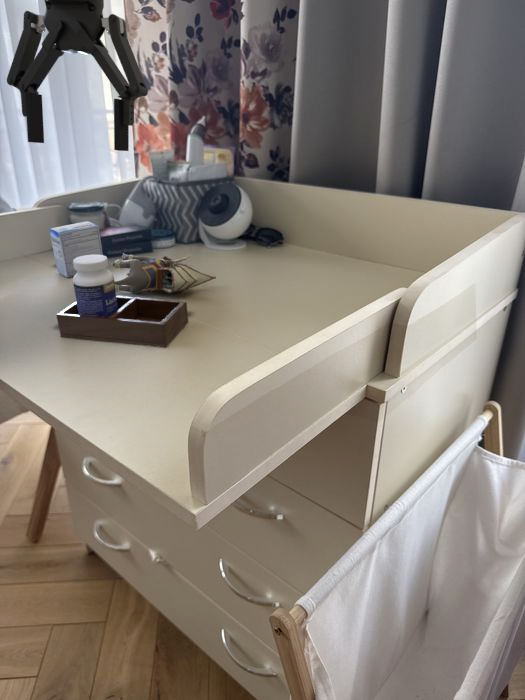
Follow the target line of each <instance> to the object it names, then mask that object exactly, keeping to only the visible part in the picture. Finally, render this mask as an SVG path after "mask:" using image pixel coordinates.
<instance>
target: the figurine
mask: <svg viewBox="0 0 525 700" xmlns="http://www.w3.org/2000/svg"><path fill="white" fill-rule="evenodd" d="M191 256H192V254H188V255H187V256H184V257H181V258H179V259H175V260H173V259H172V258H170V257H168V256H167V255H163V257H161V258H159V259H156V258H155V257H152V256H145V255H143V256H142V255H133V254H132V253H131V254H125V252H122V255H121V258H120V259H116V260H115V261H114V262H112V263H111V266H113V267H114V268H115V269H129V271H128V272H127V273H126V274H125V276H126V277H124V278H122V279H119V280H114V283H115V290H116V293H119V292H126V293H132V294H138V293H141V292H143V291H144V292H146V291H148V290H150V291H151V292H154V291H160V290H161V291H163V292H166V293H168V294H173V293H182V292H185V291H187V290H189V289H192V288H195V287H197V286H200V285H203V284H205V283H208V282H210V281H212V280H215V279H217V278H216V276H211V275H209V274H206V273H203V272H201V271H198V270H197V269H194V268H193V267H191V266H189V265H188V264H184V263H182V262H183V261H186V262H188V261H189V259H190V258H191Z"/></svg>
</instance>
